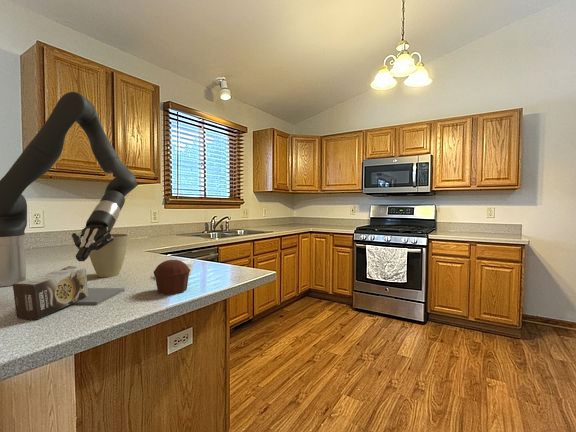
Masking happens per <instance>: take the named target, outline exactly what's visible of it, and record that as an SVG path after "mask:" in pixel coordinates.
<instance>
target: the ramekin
mask: <svg viewBox="0 0 576 432" xmlns="http://www.w3.org/2000/svg"><path fill="white" fill-rule="evenodd" d="M178 260H179V261H182V262H184V263H185V264H186V265H187V266H188V268H189V269H190V272H189V276H191V275H192V273H193V267H194V261H193V260H190V259H187V260H186V259H181V260H180V259H178Z"/></svg>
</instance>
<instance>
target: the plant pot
mask: <svg viewBox="0 0 576 432" xmlns="http://www.w3.org/2000/svg"><path fill="white" fill-rule="evenodd" d="M110 234H111V235H112V236H113V238H114V240H113V241H111V242H110V243H108V244H107V245H105V246H104V247H102V248H101V249H99V250H93V251H92V252H91V253H90V254H89V256H88V257H89V259H90V262H91V264H92V267H93V269H94V271H95V273H96V275H97V277H98V278H111V277H112V278H113V277H117V276H119V275H120V272H121V270H122V268H123V265H124V261H125V257H126V254H127V249H128V243H129V236H130V235H129V234H127V233H110ZM100 244H101V243H100ZM100 244H98V245H100Z"/></svg>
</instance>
